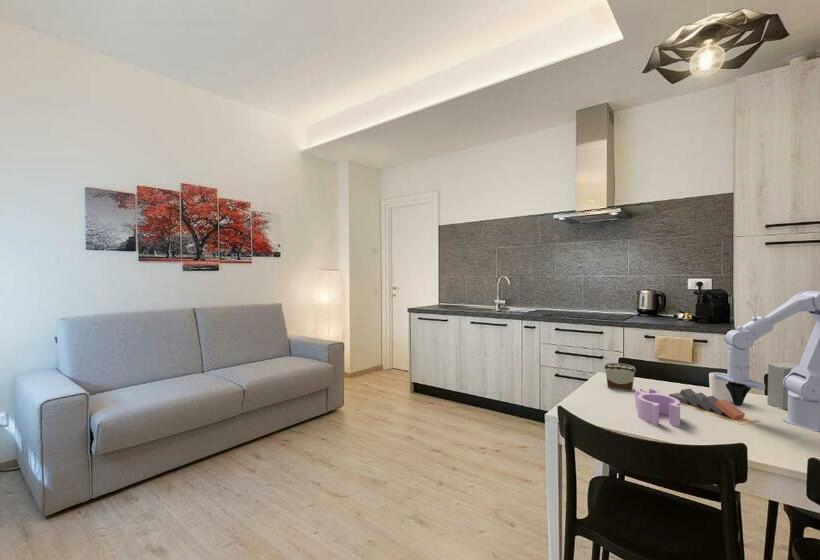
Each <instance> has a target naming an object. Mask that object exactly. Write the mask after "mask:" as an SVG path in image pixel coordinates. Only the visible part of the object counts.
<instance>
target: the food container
mask: <svg viewBox="0 0 820 560" xmlns="http://www.w3.org/2000/svg"><path fill="white" fill-rule="evenodd" d="M635 367H636V366H633V365H631V364H627V363H619V362H608V363H606V364H605V365H604V368H603V370H605V376H606V377H605V378H606V385H607V388H608V389H614V388H616V389H615V390H621V389H624V390H623V391H629V390H631V392H633V389H634V379H635V373H637V369H636V368H635Z"/></svg>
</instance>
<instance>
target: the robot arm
mask: <svg viewBox="0 0 820 560" xmlns="http://www.w3.org/2000/svg"><path fill="white" fill-rule="evenodd" d="M800 312H808V313H809V314H810V315H811V316H812V318H814V320H815V321H816V322H815V324H814V327H813V329H812V332H811V334H810V337H809V339H808V342H807V344H806V346H805V349H804V351H803V354H802V356H801V359H800V361H799V364H797V365H798V366H797V367H795V368H793V369H791V372H790V373H789V374H788V375H787V376H786V377H785V378H784V380H783V385H784V387H785V388H786V389H787V390H788V409H787V418H781V419H780V421H781V422H783V423H787V424H790V425H794V426H797V427H800V428H804V429H806V430H811V431H814V432H817V433H818V432H820V290H811V289H805V290H801V291H800V292H799V293H796V294H795V295H792V296H791V297H790V299H789V300H788V301H786V302H784V303H783V304H781V305H779V307H777V308H775V309H774V310H773V311H771V312H770V313H768V314H767V315H765V316H760V315H759V316H756V317H755V316H752V317H751V318H750V319H749V321H748V322H746V323H744V324H742V325H739V326H737V327H736V328H737V329H731V330H729V331H727V333H726V334H725V336H724V337H723V341H724V342H725V343H726V345H727V374H728V375H725V374H726V373H725V374H720V373H721V372H715V374H714V379H716V380H718V379H719V380H723V381H727V382H728V384H726V387H727V389H728V390H729V392H730V394H731V397H732V400H733V402H732V403H733V405H734V406H735V407H742V406H743V405H744V404H743V403H744V402H745V401H744V400H745V399H746V397H747V394H748V393H749V392H750V390H751V389H755V390H758V391H765V390H766V383H762V382H759V381H756V380H753V379H750V348H752V347H753V346H754V344H755V341H757V340H759V339H761V338H762V337H764V336H765V335H767V334H769V333H770V332H772V331H773V330H774V326H775V325H776V324H778V323H780V322H782V321H784V320H786V319H788V318H790V317H791V316H793V315H795V314H797V313H800Z"/></svg>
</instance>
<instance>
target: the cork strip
mask: <svg viewBox="0 0 820 560" xmlns="http://www.w3.org/2000/svg"><path fill="white" fill-rule="evenodd" d="M680 406H683V407H687V408H690V409H693V410H695V411H697V412H701V413H705V414H707V415H711V416H713V417H717V418H720V419H723V420H726V421H728V422H732V423H734V424H738V425H740V426H744V425H749V424H754V423H758V422H760V420H758V419H755V418H751V417H748V416H745V415H744V417H743V418H740V419H735V420H733V419H732V418H731V417H729V416H728V415H727V414H724V415H719V414H718V413H717V412H715V411H714V410H713V411H707V410H706V409H704V408H703V407H702V406H699V407H695V406H693V405H692V404H684V403H681V402H680Z"/></svg>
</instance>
